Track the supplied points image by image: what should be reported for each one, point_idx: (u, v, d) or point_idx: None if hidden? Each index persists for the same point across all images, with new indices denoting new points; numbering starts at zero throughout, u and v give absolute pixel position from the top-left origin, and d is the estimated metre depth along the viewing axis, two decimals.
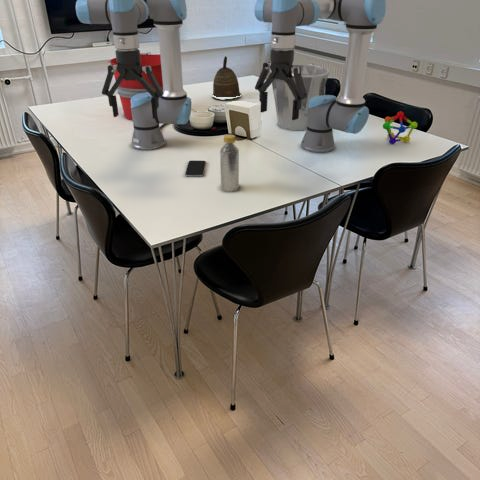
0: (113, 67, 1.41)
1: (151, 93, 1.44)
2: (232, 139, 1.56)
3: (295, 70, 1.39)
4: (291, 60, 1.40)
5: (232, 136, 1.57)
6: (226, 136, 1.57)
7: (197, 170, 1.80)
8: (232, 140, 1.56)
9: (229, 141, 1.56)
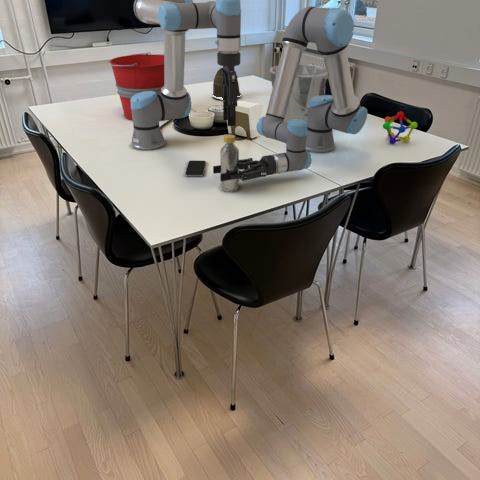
0: None
1: (228, 101, 1.46)
2: (232, 139, 1.56)
3: None
4: None
5: (232, 136, 1.57)
6: (226, 136, 1.57)
7: (197, 170, 1.80)
8: (232, 140, 1.56)
9: (229, 141, 1.56)
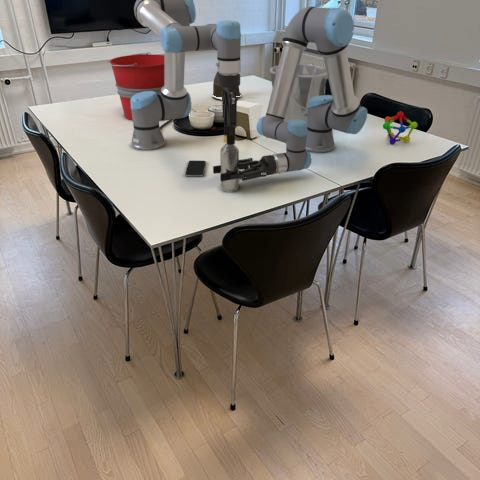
0: None
1: (227, 120, 1.51)
2: None
3: None
4: None
5: None
6: (226, 136, 1.57)
7: (197, 170, 1.80)
8: None
9: None
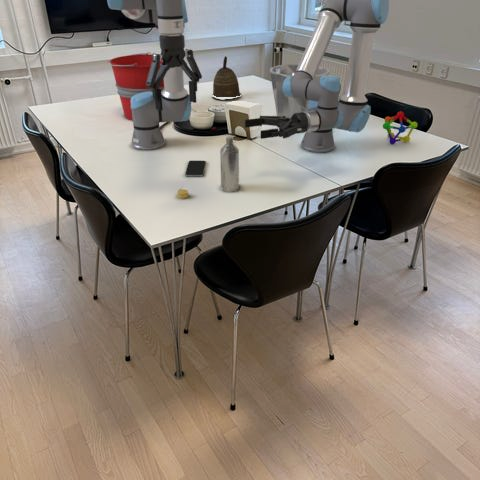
0: (159, 56, 1.32)
1: (193, 76, 1.43)
2: None
3: None
4: None
5: (181, 190, 1.61)
6: (184, 192, 1.60)
7: (197, 170, 1.80)
8: None
9: None
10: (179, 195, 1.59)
